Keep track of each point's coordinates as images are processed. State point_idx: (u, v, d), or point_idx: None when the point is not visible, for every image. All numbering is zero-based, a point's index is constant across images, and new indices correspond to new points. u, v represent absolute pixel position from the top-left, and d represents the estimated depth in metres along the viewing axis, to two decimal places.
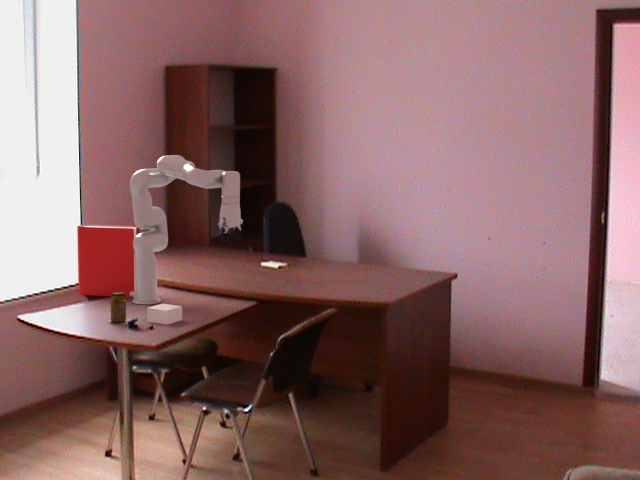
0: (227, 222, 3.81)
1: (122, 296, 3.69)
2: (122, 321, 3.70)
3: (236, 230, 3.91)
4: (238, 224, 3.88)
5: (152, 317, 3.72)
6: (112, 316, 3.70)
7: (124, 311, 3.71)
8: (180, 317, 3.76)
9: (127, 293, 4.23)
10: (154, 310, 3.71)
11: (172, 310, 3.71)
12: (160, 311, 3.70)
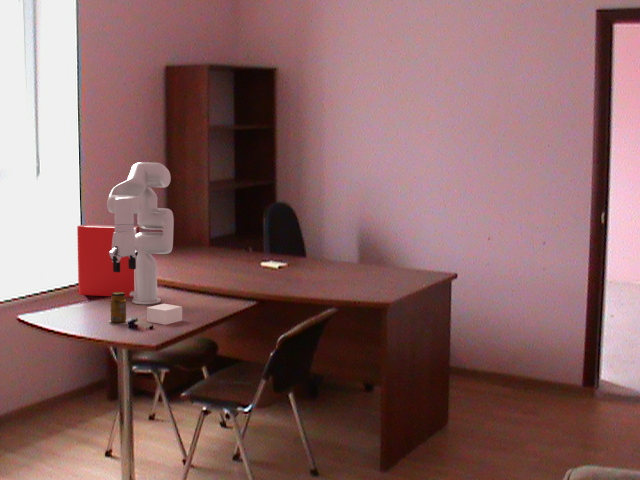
0: (119, 251, 3.63)
1: (122, 296, 3.69)
2: (122, 321, 3.70)
3: (131, 259, 3.73)
4: (132, 253, 3.70)
5: (152, 317, 3.72)
6: (112, 316, 3.70)
7: (124, 311, 3.71)
8: (180, 317, 3.76)
9: (127, 293, 4.23)
10: (153, 310, 3.71)
11: (171, 310, 3.71)
12: (159, 311, 3.70)
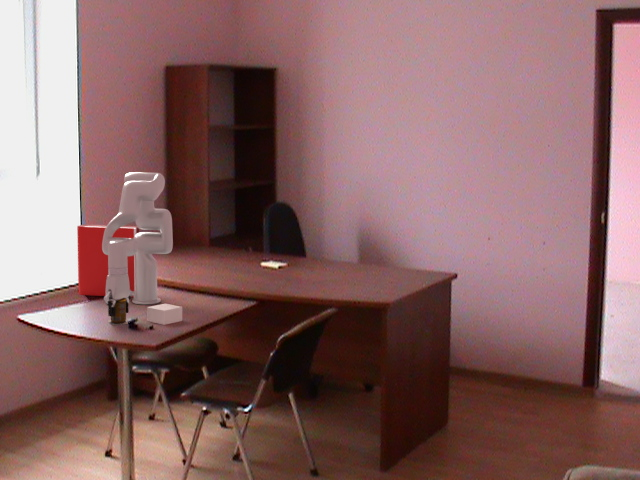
0: (113, 296, 3.65)
1: None
2: (122, 321, 3.70)
3: None
4: (126, 295, 3.71)
5: (151, 317, 3.73)
6: None
7: (124, 311, 3.71)
8: (180, 318, 3.75)
9: None
10: (153, 310, 3.72)
11: (170, 310, 3.71)
12: (158, 311, 3.70)
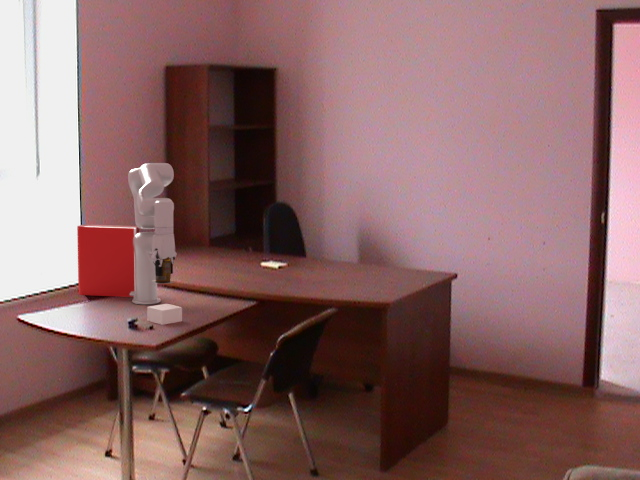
0: (160, 255, 3.67)
1: None
2: (167, 280, 3.72)
3: None
4: (172, 255, 3.73)
5: (151, 317, 3.73)
6: None
7: (169, 271, 3.72)
8: (180, 318, 3.75)
9: (127, 293, 4.23)
10: (152, 309, 3.72)
11: (169, 310, 3.70)
12: (157, 311, 3.70)
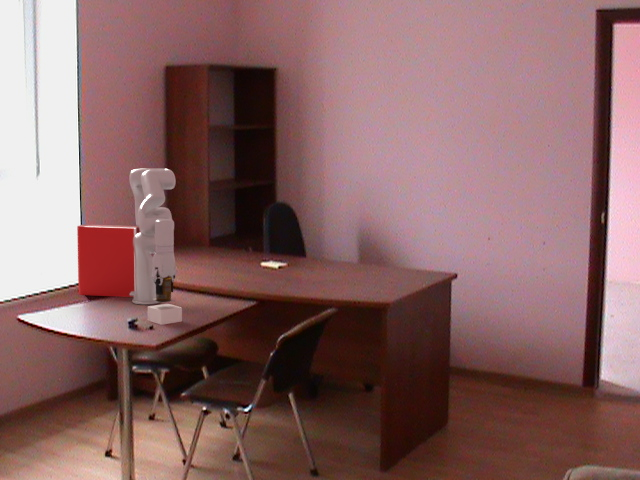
0: (160, 274, 3.68)
1: None
2: (167, 299, 3.72)
3: None
4: (172, 273, 3.74)
5: (151, 316, 3.73)
6: None
7: (169, 289, 3.73)
8: (179, 318, 3.74)
9: (127, 293, 4.23)
10: (152, 309, 3.72)
11: (168, 310, 3.70)
12: (156, 311, 3.70)
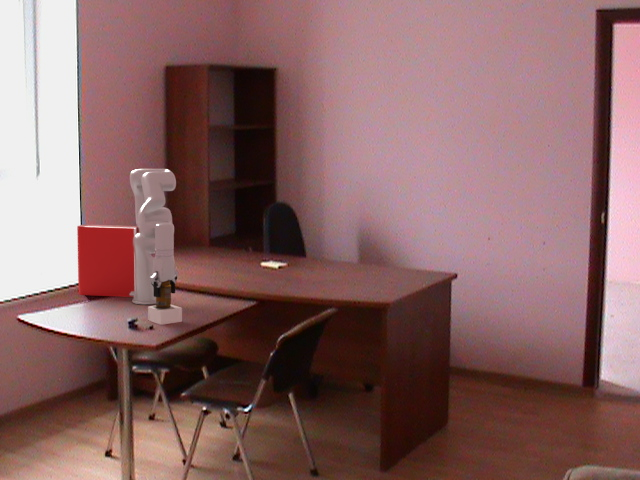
0: (160, 276, 3.68)
1: (167, 281, 3.72)
2: (167, 306, 3.73)
3: (171, 283, 3.78)
4: (172, 277, 3.75)
5: (151, 317, 3.74)
6: (157, 301, 3.72)
7: (169, 296, 3.73)
8: (179, 319, 3.74)
9: (127, 293, 4.23)
10: (152, 309, 3.72)
11: (168, 311, 3.70)
12: (156, 311, 3.70)
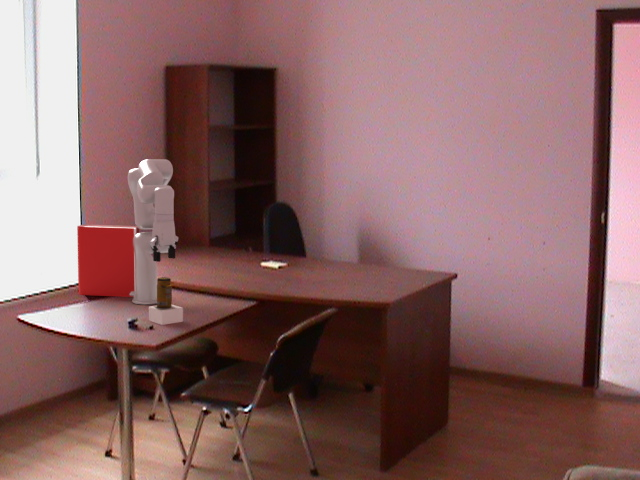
0: (160, 240, 3.66)
1: (168, 281, 3.72)
2: (168, 306, 3.72)
3: (171, 248, 3.76)
4: (172, 242, 3.73)
5: (152, 317, 3.73)
6: (158, 301, 3.72)
7: (170, 296, 3.73)
8: (180, 318, 3.74)
9: (127, 293, 4.23)
10: (153, 309, 3.72)
11: (169, 311, 3.70)
12: (157, 311, 3.70)
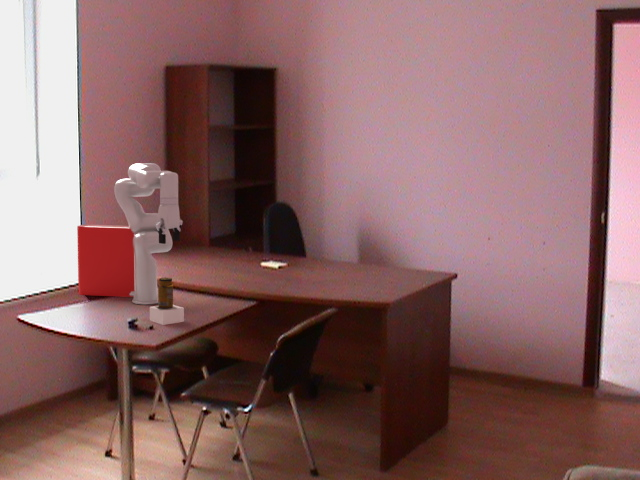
0: (165, 223, 3.81)
1: (169, 281, 3.71)
2: (169, 306, 3.72)
3: (175, 231, 3.91)
4: (177, 225, 3.88)
5: (153, 317, 3.73)
6: (159, 301, 3.72)
7: (171, 296, 3.73)
8: (181, 319, 3.74)
9: (127, 293, 4.23)
10: (154, 309, 3.72)
11: (170, 311, 3.70)
12: (158, 311, 3.70)
